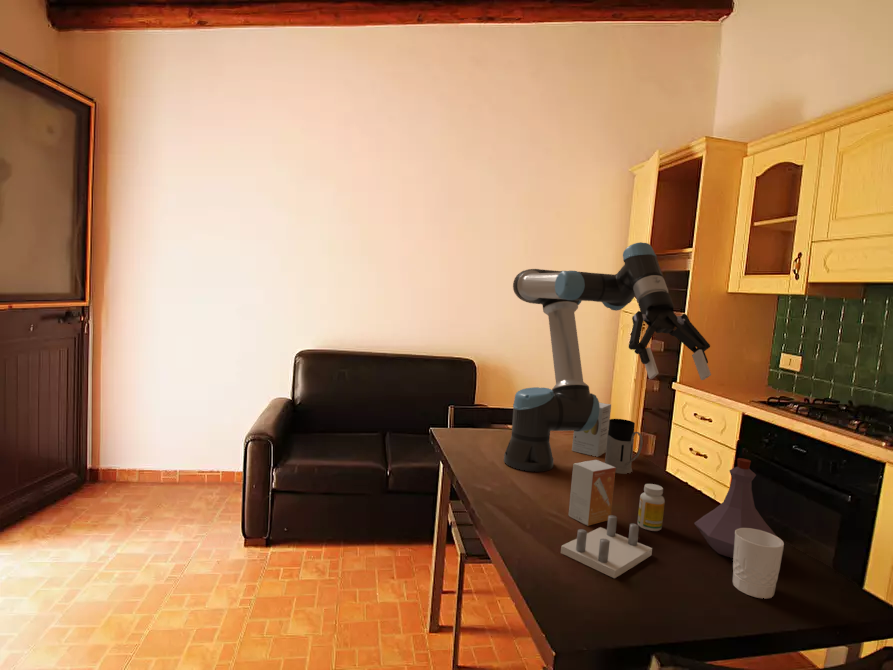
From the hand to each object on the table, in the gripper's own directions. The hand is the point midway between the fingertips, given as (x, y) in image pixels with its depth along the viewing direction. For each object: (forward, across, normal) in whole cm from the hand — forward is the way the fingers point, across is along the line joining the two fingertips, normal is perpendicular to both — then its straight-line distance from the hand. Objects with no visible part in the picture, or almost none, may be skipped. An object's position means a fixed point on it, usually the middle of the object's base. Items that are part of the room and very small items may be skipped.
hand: (680, 377), depth 120 cm
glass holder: (+7, +14, +53) cm, 55 cm away
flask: (+35, +9, +13) cm, 39 cm away
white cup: (+43, +1, +1) cm, 43 cm away
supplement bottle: (+28, -2, +23) cm, 36 cm away
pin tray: (+34, -20, +14) cm, 42 cm away
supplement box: (-5, +14, +70) cm, 71 cm away
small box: (+24, -15, +28) cm, 40 cm away
